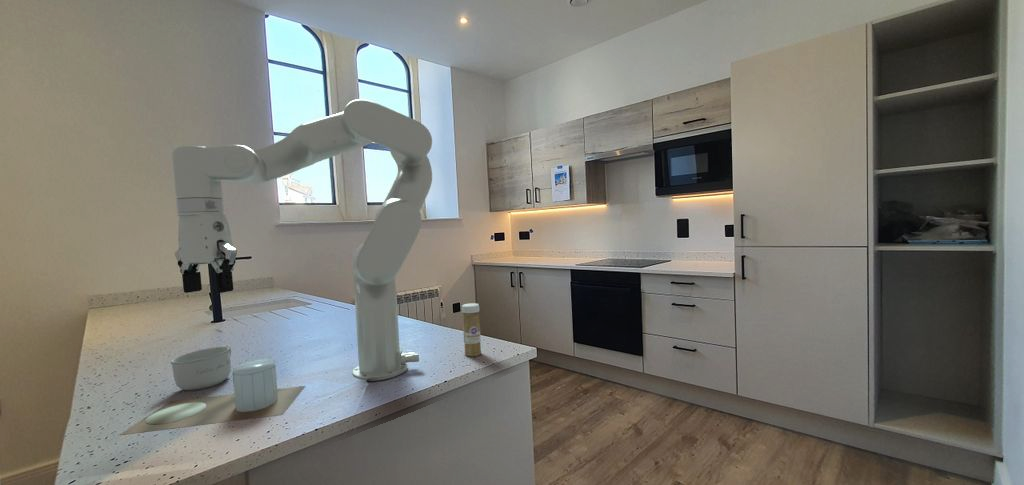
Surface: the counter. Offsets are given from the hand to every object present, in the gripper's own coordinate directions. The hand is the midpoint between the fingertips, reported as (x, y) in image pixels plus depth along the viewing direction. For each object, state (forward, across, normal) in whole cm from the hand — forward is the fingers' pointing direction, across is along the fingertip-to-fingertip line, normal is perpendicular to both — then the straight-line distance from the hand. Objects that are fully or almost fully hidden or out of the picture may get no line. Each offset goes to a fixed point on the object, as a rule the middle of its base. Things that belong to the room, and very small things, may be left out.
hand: (208, 291), depth 83 cm
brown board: (+23, -6, +3) cm, 24 cm away
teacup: (+23, +13, -7) cm, 28 cm away
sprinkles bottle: (+24, -39, -40) cm, 61 cm away
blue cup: (+22, -11, 0) cm, 25 cm away
